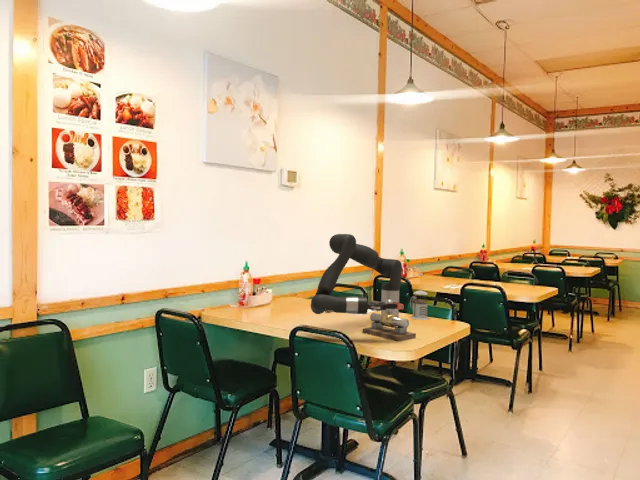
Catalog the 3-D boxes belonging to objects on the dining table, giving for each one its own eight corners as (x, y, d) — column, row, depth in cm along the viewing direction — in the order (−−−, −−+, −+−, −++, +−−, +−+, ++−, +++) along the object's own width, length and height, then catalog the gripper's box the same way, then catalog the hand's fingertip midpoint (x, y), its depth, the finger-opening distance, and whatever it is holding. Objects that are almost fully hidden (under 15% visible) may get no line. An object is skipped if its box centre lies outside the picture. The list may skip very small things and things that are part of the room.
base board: (415, 337, 235) (415, 333, 235) (399, 341, 227) (399, 336, 227) (379, 329, 251) (379, 325, 251) (362, 332, 243) (362, 328, 243)
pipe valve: (410, 334, 233) (410, 307, 233) (401, 335, 229) (402, 308, 229) (376, 326, 248) (377, 301, 248) (368, 328, 244) (369, 302, 244)
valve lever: (391, 303, 240) (391, 299, 240) (404, 309, 225) (404, 304, 225) (385, 303, 240) (385, 299, 240) (397, 309, 224) (397, 304, 224)
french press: (432, 319, 284) (434, 273, 283) (416, 320, 278) (418, 274, 277) (420, 316, 292) (421, 272, 291) (404, 317, 286) (406, 272, 285)
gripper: (358, 298, 219) (398, 300, 220) (354, 294, 233) (393, 295, 233) (357, 316, 220) (397, 317, 220) (354, 311, 233) (392, 312, 233)
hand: (395, 306), depth 227 cm, fingers closed
